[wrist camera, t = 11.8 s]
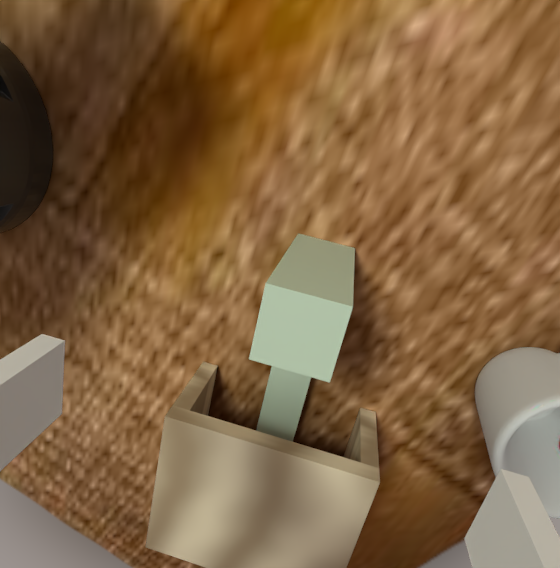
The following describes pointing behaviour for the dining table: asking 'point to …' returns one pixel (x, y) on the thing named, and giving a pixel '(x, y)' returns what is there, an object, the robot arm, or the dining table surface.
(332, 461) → the beige arch
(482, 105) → the dining table surface
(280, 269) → the sage green mallet
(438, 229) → the dining table surface
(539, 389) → the cup
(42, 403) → the robot arm
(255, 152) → the dining table surface
